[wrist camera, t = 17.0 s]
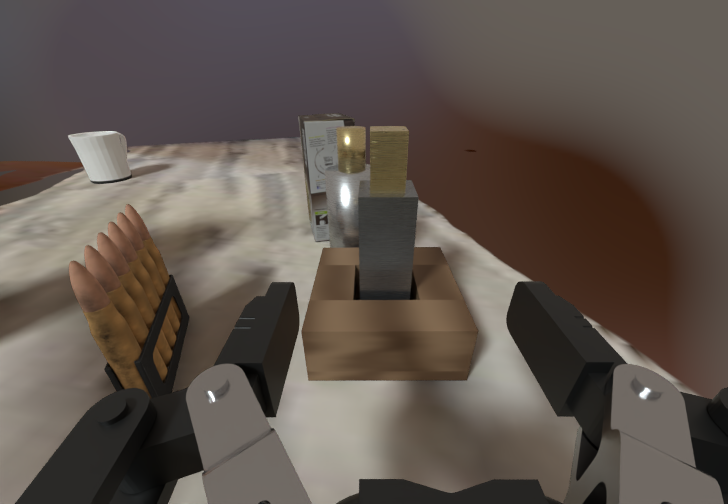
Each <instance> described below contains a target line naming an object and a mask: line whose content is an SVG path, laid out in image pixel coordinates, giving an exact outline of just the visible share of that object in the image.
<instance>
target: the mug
mask: <svg viewBox="0 0 728 504" xmlns="http://www.w3.org/2000/svg"><path fill="white" fill-rule="evenodd" d="M68 137H69V139H70V141H71V143H72V144H73V146H74V148H75V149H76V151H77V154H78V156H79V158H80V160H81V162H82V164H83V166H84V168H85V170H86V172H87V174H88V176H89V178H90V180H91V182H93V183H96V184H104V183H114V182H119V181H123V180H127V179H129V178H131V177H132V174H131V171H130V168H129V166H128V163H127V146H126V138H125V137H124V136H123V135H122V134H120V133H118V132H114V131H104V132H103V131H101V132H87V133H79V134H72V135H69V136H68ZM119 137H120V138H121V143H120V139H119ZM121 145H122V146H121Z"/></svg>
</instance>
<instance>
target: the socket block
mask: <svg viewBox="0 0 728 504" xmlns="http://www.w3.org/2000/svg"><path fill="white" fill-rule="evenodd" d="M301 332H302V339H303V346H304V352H305V359H306V366H307V373H308V380H467V376H468V372H469V368H470V364H471V360H472V355H473V351H474V347H475V343H476V339H477V334H478V330H477V327H476V325H475V323H474V321H473V319H472V316H471V314H470V312H469V310H468V308H467V305H466V303H465V301H464V299H463V297H462V294H461V292H460V290H459V288H458V286H457V283H456V281H455V279H454V277H453V275H452V272H451V270H450V268H449V266H448V264H447V261H446V259H445V257H444V255H443V253H442V250H441V248H440V247H414V256H413V268H412V280H411V292H410V300H360V273H359V248H323V250H322V254H321V258H320V262H319V266H318V270H317V274H316V277H315V281H314V285H313V289H312V293H311V297H310V301H309V304H308V308H307V312H306V316H305V320H304V324H303V328H302V331H301Z"/></svg>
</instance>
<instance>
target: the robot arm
mask: <svg viewBox="0 0 728 504" xmlns="http://www.w3.org/2000/svg"><path fill="white" fill-rule="evenodd" d="M506 321H507V327H508V330H509V332H510V334H511V336H512V338H513V339H514V341H515V343H516V345H517V346H518V348H519V350H520V352H521V353H522V355H523V357H524V359H525V360H526V362H527V364H528V366H529V367H530V369H531V371H532V373H533V374H534V376H535V378H536V380H537V381H538V383H539V385H540V387H541V388H542V390H543V392H544V394H545V395H546V397H547V399H548V401H549V402H550V404H551V406H552V408H553V409H554V411H555V413H556V415H557V416H573V417H575V418H576V420H577V422H578V423H579V425H580V427H579V429H578V431H577V437H576V444H575V450H574V457H573V464H572V470H571V477H570V484H569V489H568V492H567V495H566V498H565V500H564V503H563V504H728V387H727V388H724V389H722V390H721V391H720V392H719V393H718V394H717V395H716V396H715V397H714V398H713V399H707V398H704V397H700V396H696V395H692V394H688V393H683V392H679V390H678V389H677V388H676V387H675V386H674V385H673V384H672V383H670V382H669V381H668V380H667V379H665V378H664V377H662V376H661V375H659V374H657V373H655V372H653V371H651V370H649V369H647V368H644V367H641V366H637V365H632V364H627V363H626V362H625V361H624V359H623V358H622V357H621V356H620V355H619V354H618V353H617V352H616V351H615V350H614V349H613V348H612V347H611V345H610V344H609V343H608V342H607V341H606V340H605V339H604V338H603V337H602V336H601V335H600V334H599V332H598V331H597V330H596V329H595V328H592V325H591V324H590V323H589V322H588V321H587V319H584V316H583V315H582V314H581V313H580V312H579V311H578V310H577V309H576V308H575V307H574V305H572V304H570V303H569V302H567V301H566V300H564V299H563V298H561V297H560V296H556V295H555V294H554V293H553V292H552V291H551V290H550V289H549V287H548V286H547V285H546V284H545V283H544V282H518V283H517V284H516V286H515V289H514V293H513V296H512V299H511V303H510V306H509V309H508V312H507V318H506ZM298 331H299V310H298V303H297V296H296V289H295V285H294V283H293V282H272V283H271V285H270V287H269V289H268V291H267V293H266V295H265V296H256V297H255V298H254V299H253V300H252V301H251V302H250V303H248V304H247V305H246V306H245V308H244V310H243V312H242V314H241V316H240V319H239V320H238V321H237V323H236V325H235V329H233V331H232V333H231V334H230V336H229V338H228V340H227V342H226V344H225V346H224V348H223V349H222V351H221V353H220V355H219V357H218V359H217V361H216V363H215V365H214V366H213V367H211V368H209V369H207V370H205V371H203V372H202V373H201V374H199V375H198V376H197V377H196V378H195V379H194V380H193V381H192V383H191V384H190V386H189V387H188V388H185V389H183V390H180V391H177V392H173V393H169V394H165V395H162V396H158V397H154V398H151V399H150V397H149V396H148V394H147V392H145V391H144V390H142V389H139V388H128V389H123V390H120V391H117V392H115V393H112V394H110V395H108V396H106V397H105V398H103V399H102V400H100V401H99V402H97V403H96V404H95V405H93V406H92V407H91V408H90V409H89V410H88V411H87V412H86V413H85V414H84V416H83V417H82V418H81V419H80V421H79V422H78V423H77V425H76V426H75V427H74V428H73V430H72V431H71V432H70V434H69V435H68V436H67V437H66V439H65V440H64V441H63V443H62V444H61V445H60V446H59V448H58V449H57V450H56V452H55V453H54V454H53V455H52V457H51V458H50V459H49V461H48V462H47V463H46V464H45V466H44V467H43V468H42V470H41V471H40V472H39V473H38V475H37V476H36V477H35V479H34V480H33V481H32V482H31V484H30V485H29V486H28V488H27V489H26V490H25V491H24V493H23V494H22V495H21V497H20V498H19V499H18V500H17V502H16V503H15V504H168V502H169V500H170V497H171V495H172V493H173V490H174V488H175V485H176V483H177V481H178V479H180V478H183V477H186V476H188V475H191V474H194V473H197V472H200V471H203V470H204V472H203V473H202V478H203V484H204V488H205V492H206V496H207V500H208V504H312V503H311V501H310V499H309V497H308V495H307V493H306V491H305V489H304V487H303V485H302V483H301V481H300V479H299V477H298V475H297V473H296V471H295V469H294V467H293V465H292V463H291V461H290V459H289V457H288V455H287V453H286V451H285V449H284V446H283V444H282V442H281V440H280V438H279V436H278V435H277V433H276V431H275V430H274V429H273V428H271V427H270V425H269V423H268V421H267V419H266V417H276V414H277V410H278V406H279V403H280V399H281V395H282V391H283V387H284V384H285V380H286V376H287V372H288V369H289V365H290V361H291V357H292V354H293V350H294V346H295V342H296V339H297V335H298ZM336 504H562V503H561V502H558V501H556V500H554V499H551V498H549V497H546V496H545V495H544V493H543V491H542V489H541V486H540V484H539V482H538V480H491V481H488V482H485V483H482V484H479V485H476V486H473V487H470V488H467V489H464V490H462V491H459V492H455V493H447V492H443V491H440V490H437V489H433V488H430V487H427V486H424V485H420V484H417V483H414V482H410V481H407V480H404V479H359V493H358V494H355V495H352V496H349V497H347V498H345V499H343V500H341V501H339V502H338V503H336Z"/></svg>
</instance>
